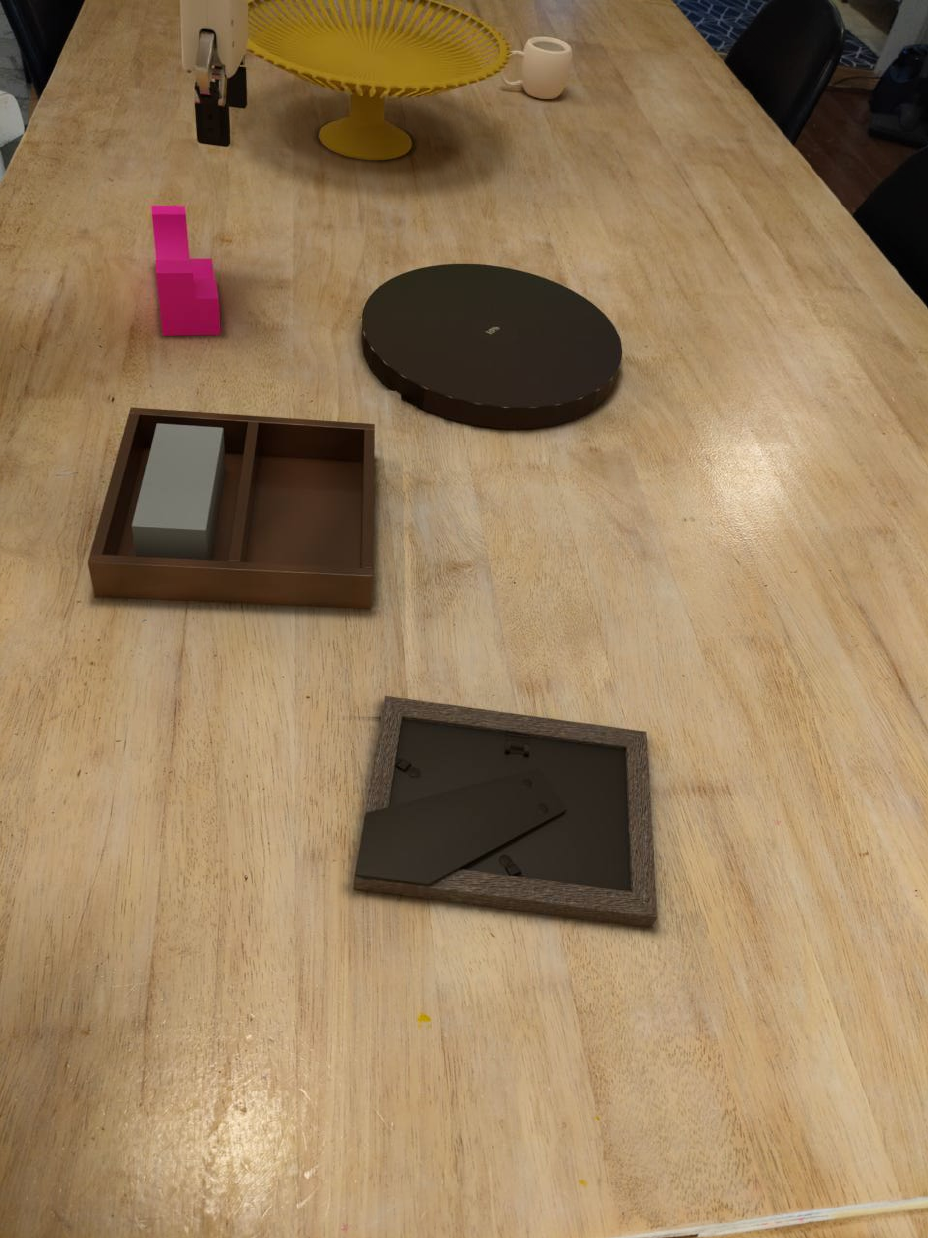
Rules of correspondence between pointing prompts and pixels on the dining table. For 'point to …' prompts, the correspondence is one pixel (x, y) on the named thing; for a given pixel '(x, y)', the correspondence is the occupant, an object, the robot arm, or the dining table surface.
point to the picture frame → (510, 813)
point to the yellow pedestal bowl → (374, 63)
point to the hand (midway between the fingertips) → (223, 124)
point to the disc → (490, 345)
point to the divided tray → (253, 516)
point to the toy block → (182, 278)
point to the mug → (543, 67)
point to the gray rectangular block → (180, 493)
